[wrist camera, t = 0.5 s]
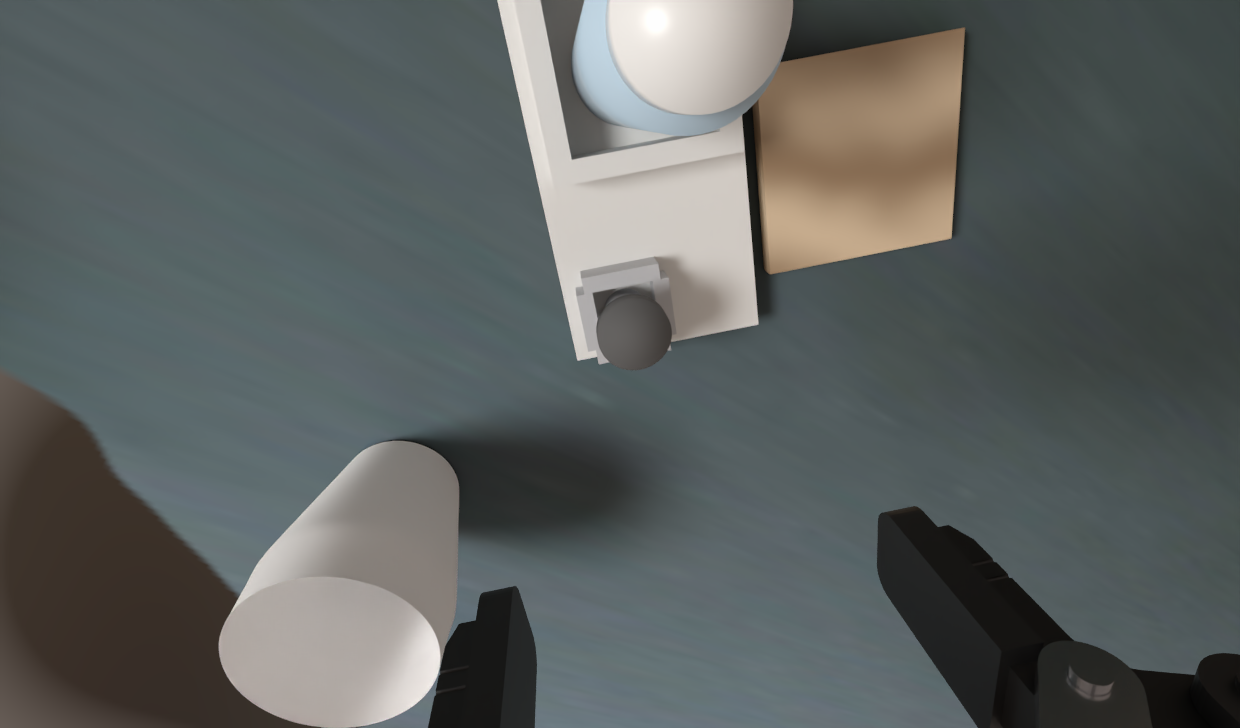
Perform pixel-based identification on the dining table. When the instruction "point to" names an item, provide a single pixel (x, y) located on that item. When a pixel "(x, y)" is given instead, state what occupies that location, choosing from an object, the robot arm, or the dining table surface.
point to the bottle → (677, 60)
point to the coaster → (859, 151)
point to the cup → (353, 595)
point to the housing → (630, 195)
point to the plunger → (633, 330)
